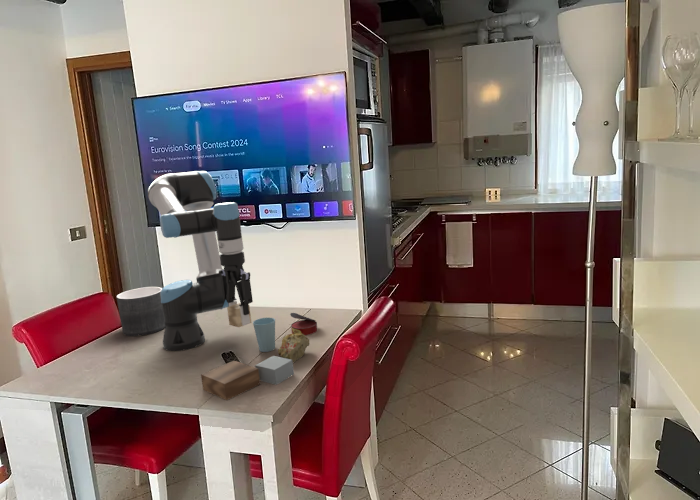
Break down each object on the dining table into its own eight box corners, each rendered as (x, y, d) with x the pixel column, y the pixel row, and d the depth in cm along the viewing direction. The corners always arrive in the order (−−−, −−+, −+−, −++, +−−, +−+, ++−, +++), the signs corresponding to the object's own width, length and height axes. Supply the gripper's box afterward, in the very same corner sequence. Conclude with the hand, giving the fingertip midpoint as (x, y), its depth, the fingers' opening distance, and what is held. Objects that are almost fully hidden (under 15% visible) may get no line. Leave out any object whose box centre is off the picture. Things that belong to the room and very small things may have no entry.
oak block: (229, 324, 171) (227, 307, 170) (242, 320, 175) (239, 302, 174) (238, 327, 168) (236, 309, 167) (251, 322, 172) (249, 304, 171)
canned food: (293, 342, 206) (286, 317, 208) (318, 335, 208) (311, 311, 211) (295, 338, 195) (288, 312, 198) (321, 330, 198) (314, 305, 200)
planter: (114, 332, 222) (108, 295, 219) (154, 319, 235) (148, 285, 232) (136, 339, 210) (129, 301, 207) (176, 325, 223) (170, 289, 220)
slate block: (257, 380, 163) (255, 365, 162) (274, 370, 169) (273, 355, 168) (276, 385, 158) (274, 369, 157) (294, 375, 165) (292, 359, 164)
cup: (281, 349, 186) (277, 321, 184) (259, 355, 183) (255, 326, 181) (275, 343, 193) (271, 316, 191) (254, 348, 190) (250, 320, 188)
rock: (296, 375, 176) (292, 355, 169) (273, 368, 178) (268, 349, 172) (311, 348, 184) (308, 329, 178) (289, 342, 187) (285, 323, 180)
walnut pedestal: (203, 390, 159) (200, 374, 158) (236, 375, 167) (234, 360, 166) (226, 400, 151) (224, 383, 150) (260, 384, 159) (258, 368, 158)
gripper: (205, 252, 170) (214, 321, 175) (239, 256, 159) (248, 330, 163) (224, 248, 176) (233, 315, 180) (259, 251, 164) (267, 323, 168)
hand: (240, 322), depth 172 cm, fingers closed on oak block, 5 cm apart
